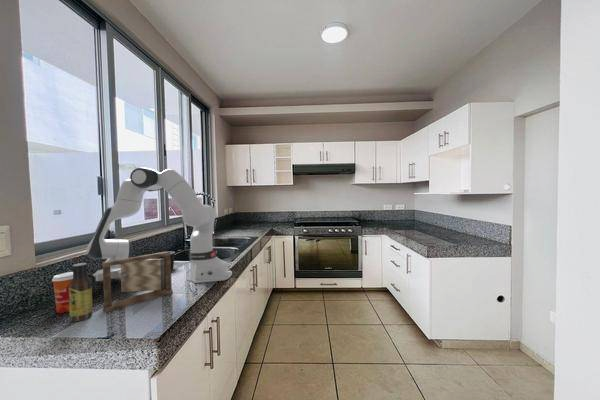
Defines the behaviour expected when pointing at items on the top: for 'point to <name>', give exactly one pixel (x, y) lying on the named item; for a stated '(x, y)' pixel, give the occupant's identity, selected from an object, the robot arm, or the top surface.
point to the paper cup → (62, 291)
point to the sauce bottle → (80, 294)
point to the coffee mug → (170, 259)
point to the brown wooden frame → (139, 298)
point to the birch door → (143, 275)
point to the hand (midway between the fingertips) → (126, 274)
